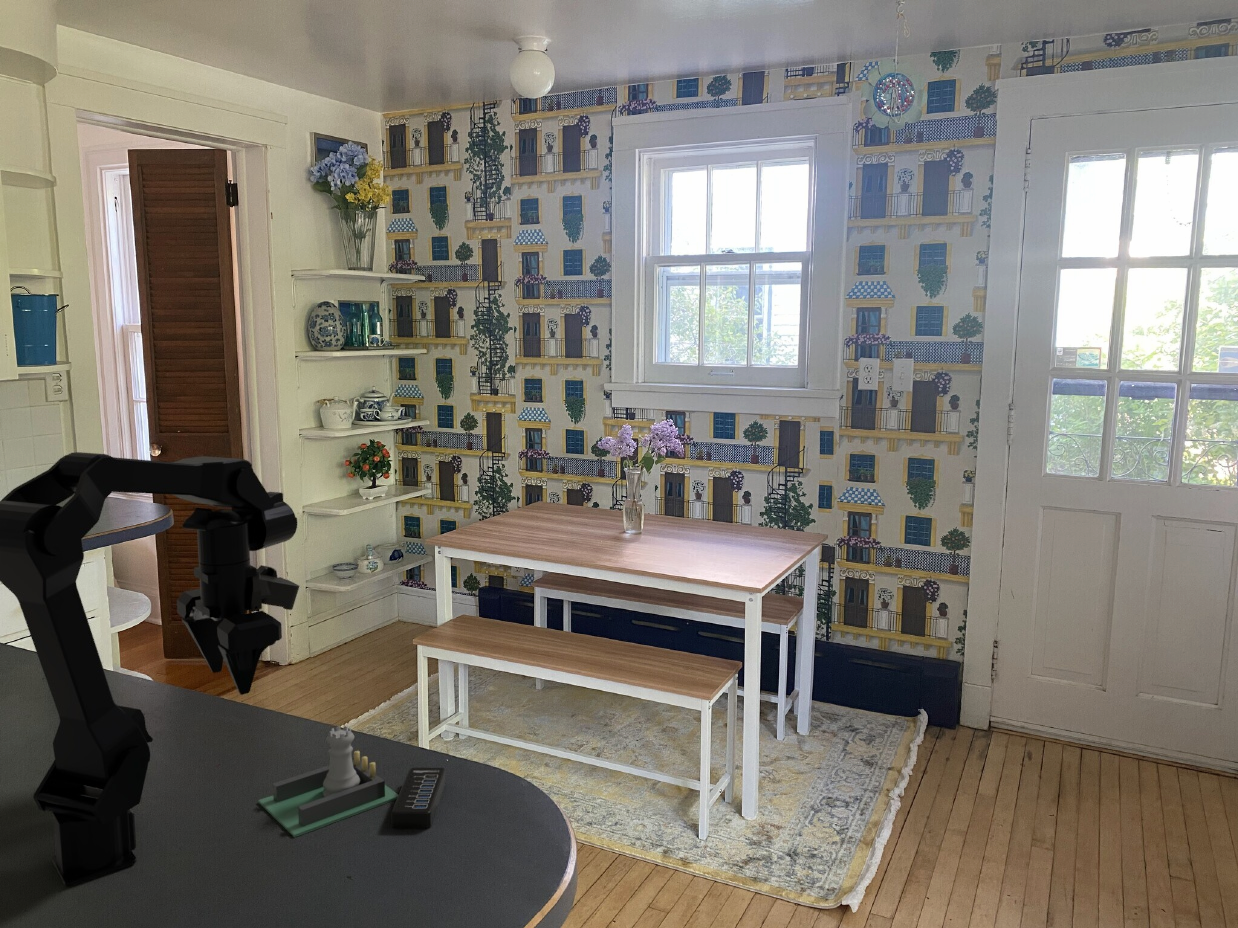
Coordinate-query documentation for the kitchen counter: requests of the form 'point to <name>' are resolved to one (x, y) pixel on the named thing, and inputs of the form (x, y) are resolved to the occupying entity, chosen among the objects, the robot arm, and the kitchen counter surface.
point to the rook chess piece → (340, 762)
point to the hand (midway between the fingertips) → (230, 682)
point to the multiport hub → (418, 798)
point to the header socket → (325, 798)
